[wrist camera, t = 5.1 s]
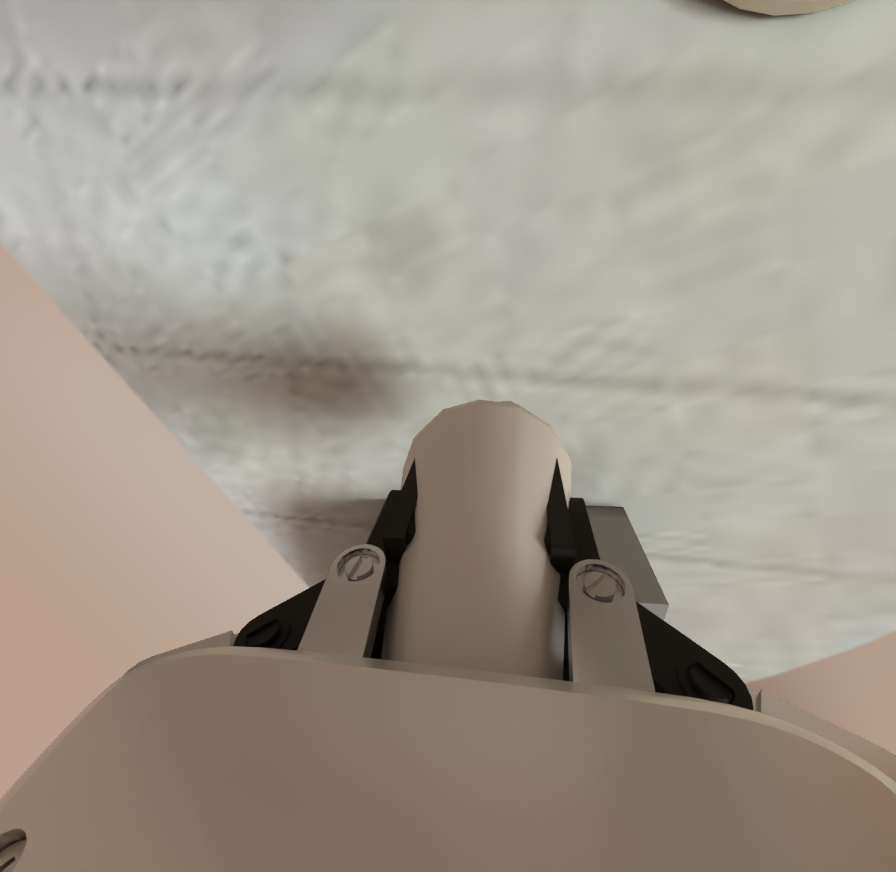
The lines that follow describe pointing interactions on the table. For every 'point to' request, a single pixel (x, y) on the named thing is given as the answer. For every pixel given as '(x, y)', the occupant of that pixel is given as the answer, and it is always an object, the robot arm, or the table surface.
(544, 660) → the salt shaker
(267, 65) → the table surface
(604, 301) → the table surface
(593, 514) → the bin
